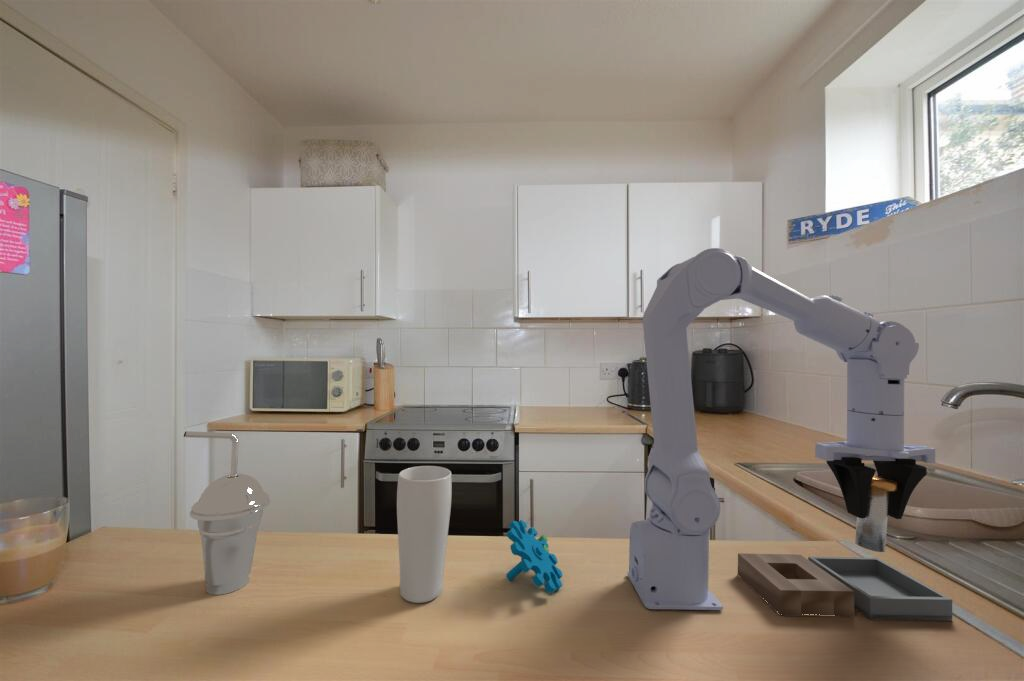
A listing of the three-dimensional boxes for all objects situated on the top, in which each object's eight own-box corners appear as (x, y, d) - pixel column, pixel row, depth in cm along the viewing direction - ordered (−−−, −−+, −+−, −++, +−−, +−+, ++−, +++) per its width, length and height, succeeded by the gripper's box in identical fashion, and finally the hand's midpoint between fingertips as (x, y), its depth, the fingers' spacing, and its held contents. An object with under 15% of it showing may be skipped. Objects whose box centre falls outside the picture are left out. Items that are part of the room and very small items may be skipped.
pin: (868, 553, 52) (873, 481, 52) (839, 537, 57) (844, 471, 57) (902, 556, 52) (907, 484, 52) (871, 540, 57) (875, 474, 57)
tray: (870, 619, 49) (870, 598, 49) (808, 574, 59) (808, 556, 59) (952, 620, 49) (952, 599, 49) (876, 575, 59) (876, 557, 59)
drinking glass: (458, 586, 54) (462, 470, 54) (427, 615, 48) (431, 484, 48) (416, 573, 56) (420, 462, 57) (381, 599, 50) (386, 475, 51)
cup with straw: (256, 598, 50) (264, 432, 50) (166, 611, 47) (175, 434, 48) (274, 563, 58) (280, 420, 58) (197, 572, 55) (205, 422, 56)
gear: (556, 599, 49) (504, 526, 52) (520, 629, 49) (471, 555, 53) (574, 567, 59) (529, 508, 62) (543, 593, 60) (501, 532, 63)
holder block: (780, 615, 49) (780, 590, 49) (737, 574, 58) (737, 553, 58) (854, 616, 50) (854, 591, 50) (800, 575, 59) (800, 554, 59)
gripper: (845, 415, 51) (845, 527, 50) (961, 418, 51) (961, 529, 51) (804, 407, 58) (803, 505, 57) (905, 410, 58) (905, 507, 58)
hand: (874, 515), depth 54 cm, fingers closed on pin, 4 cm apart
